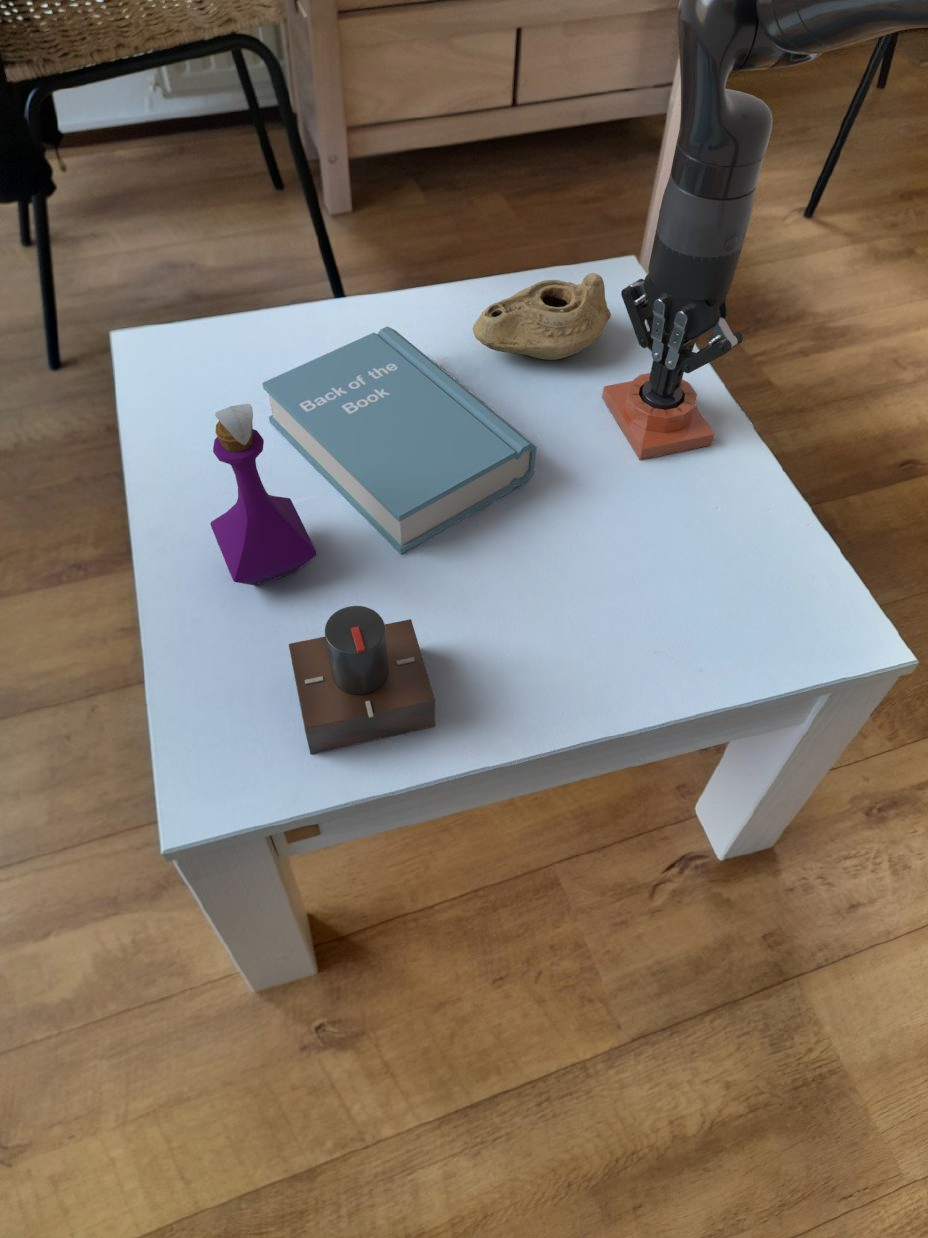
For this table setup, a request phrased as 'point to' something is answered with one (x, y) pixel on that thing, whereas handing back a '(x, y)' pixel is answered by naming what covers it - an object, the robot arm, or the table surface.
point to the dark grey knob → (658, 401)
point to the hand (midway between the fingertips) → (662, 390)
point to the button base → (657, 420)
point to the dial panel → (369, 715)
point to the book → (398, 436)
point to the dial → (357, 649)
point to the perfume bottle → (255, 509)
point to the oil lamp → (546, 319)
